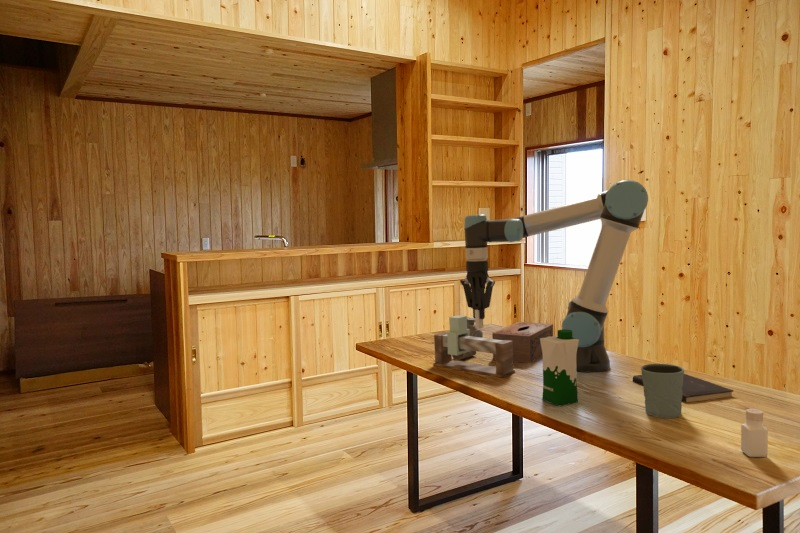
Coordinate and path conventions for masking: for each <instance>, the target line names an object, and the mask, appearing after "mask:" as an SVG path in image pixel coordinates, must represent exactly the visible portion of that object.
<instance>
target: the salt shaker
mask: <svg viewBox="0 0 800 533" xmlns="http://www.w3.org/2000/svg"><path fill="white" fill-rule="evenodd" d="M763 421H764V411H762V409H761V410H760V409H757V408H756V409H755V408H747V409H745V423H742V424H741V425H740V450H741V452H743V453H744V454H745V455H746V456H748V457H750V458H767V457H768V455H769V454H768V452H769V451H768V449H769V448H768V446H769V445H768V444H769V443H768V442H769V431H768V430H769V429H768V428H767V426H764V424H763Z"/></svg>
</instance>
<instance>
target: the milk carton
mask: <svg viewBox="0 0 800 533" xmlns="http://www.w3.org/2000/svg"><path fill="white" fill-rule="evenodd" d="M540 342H541V347H542V353H543V355H542V401H545V402H548V403H550V404H552V405H554V406H556V407H561V406H566V405H570V404H576V403H579V398H578V385H577V382H578V381H577V377H578V376H577V372H578V371H577V370H576V353H577V348H578V343H579V340H578V339H576V338H573V337H572V330H562V329H558V330H557V335H553V336H552V337H547V338H540Z"/></svg>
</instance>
